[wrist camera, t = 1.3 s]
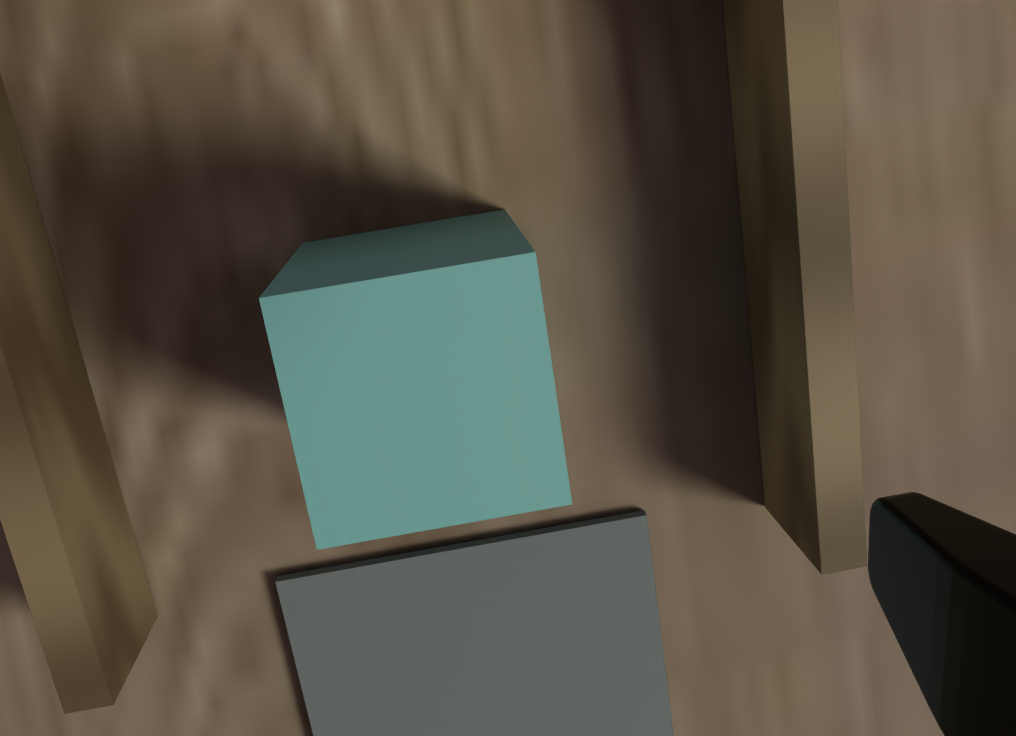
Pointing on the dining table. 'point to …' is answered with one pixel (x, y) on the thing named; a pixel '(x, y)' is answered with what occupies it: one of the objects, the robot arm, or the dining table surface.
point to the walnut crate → (773, 327)
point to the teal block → (417, 378)
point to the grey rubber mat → (486, 637)
